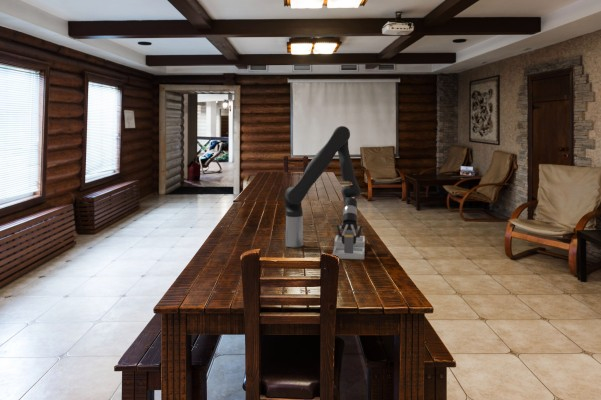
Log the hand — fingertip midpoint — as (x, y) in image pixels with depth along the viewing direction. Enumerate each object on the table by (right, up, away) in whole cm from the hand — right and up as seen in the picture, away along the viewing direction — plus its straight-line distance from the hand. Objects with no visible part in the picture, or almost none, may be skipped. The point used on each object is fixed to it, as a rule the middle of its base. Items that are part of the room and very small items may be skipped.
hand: (348, 243), depth 253 cm
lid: (0, -6, +3) cm, 7 cm away
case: (+2, -4, +18) cm, 19 cm away
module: (0, -5, +3) cm, 5 cm away
